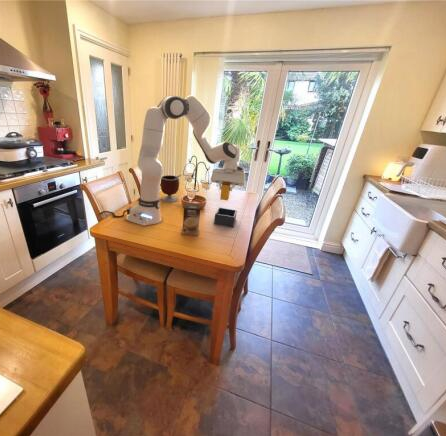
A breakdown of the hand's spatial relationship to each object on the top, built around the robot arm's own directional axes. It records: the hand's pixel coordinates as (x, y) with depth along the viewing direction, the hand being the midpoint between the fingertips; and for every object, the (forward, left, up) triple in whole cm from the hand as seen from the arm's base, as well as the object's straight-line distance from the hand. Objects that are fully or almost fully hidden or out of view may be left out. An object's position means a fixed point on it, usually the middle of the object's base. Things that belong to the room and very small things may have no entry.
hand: (225, 189), depth 138 cm
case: (+2, +1, -21) cm, 21 cm away
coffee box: (-14, -21, -21) cm, 33 cm away
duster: (0, +1, -6) cm, 6 cm away
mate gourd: (-44, +24, -21) cm, 54 cm away
